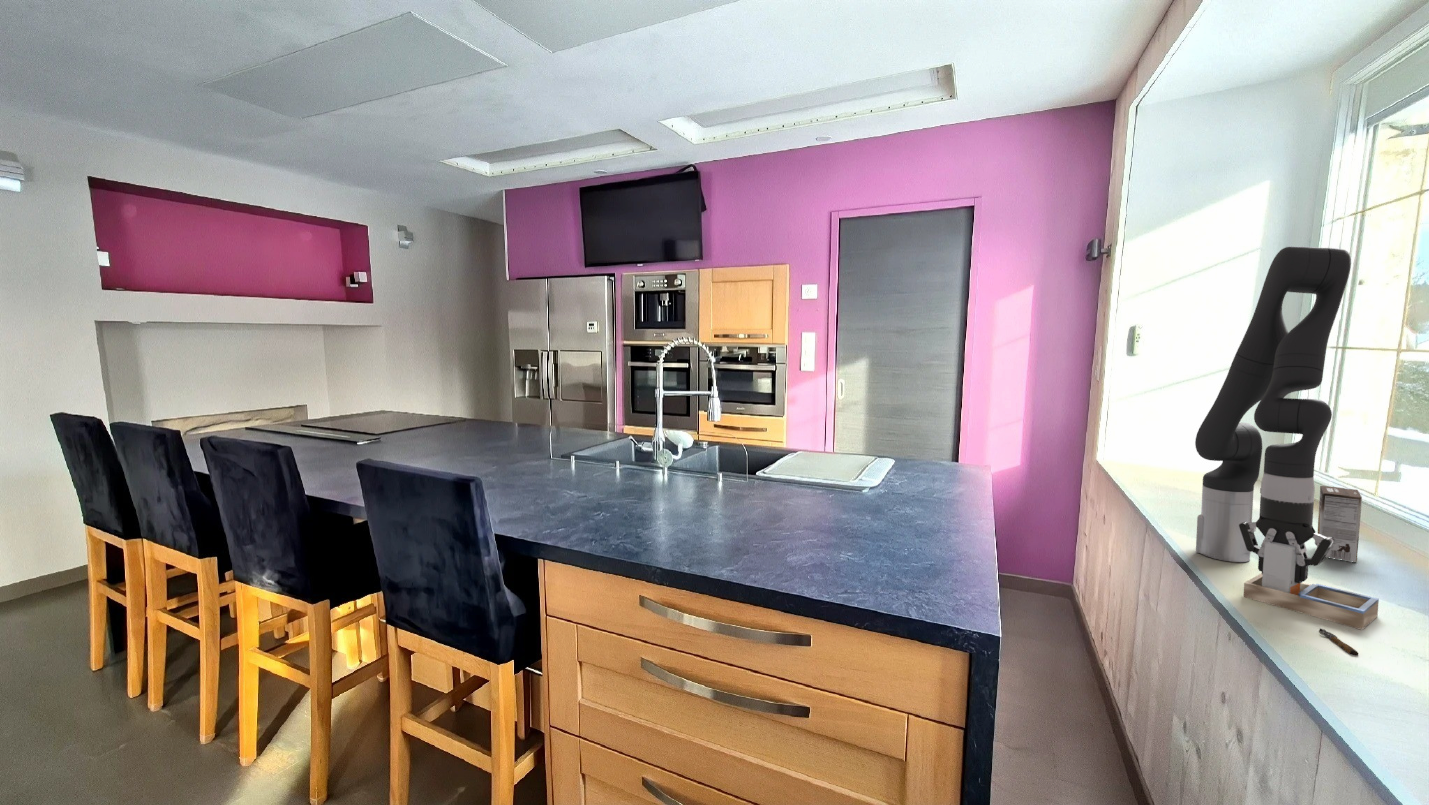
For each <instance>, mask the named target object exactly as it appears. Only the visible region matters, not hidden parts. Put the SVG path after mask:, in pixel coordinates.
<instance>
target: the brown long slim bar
mask: <svg viewBox="0 0 1429 805" xmlns="http://www.w3.org/2000/svg"><path fill="white" fill-rule="evenodd" d="M1319 634H1320V635H1322V636H1325V637H1328V638H1329V640H1330V641H1331V642H1333V643H1334V644H1336V645H1337V646H1338V647H1339V648H1340V649H1342V650H1343V651H1345V653H1348V654H1349V655H1351V656H1357V657H1358V656H1359V652H1358V651H1357V650H1356V649H1354V648H1353V647H1352V646H1350V645H1349V644H1347V643H1345V642H1344V641H1342V640H1341V639H1339V638H1338V636H1336V635H1335V634H1333V633H1332V632H1329V631H1327V630H1326V629H1325V628H1319Z"/></svg>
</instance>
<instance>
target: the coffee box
mask: <svg viewBox="0 0 1429 805" xmlns="http://www.w3.org/2000/svg"><path fill="white" fill-rule="evenodd" d="M1362 503H1363V497H1362V494H1361V493H1360V491H1359V490H1358V489H1352V488H1345V487H1337V486H1329V485H1328V486H1327V485H1320V486H1319V502H1318V504H1319V505H1318V518H1317V520H1318V521H1317V534H1320V535H1322V536H1325V537H1332V538H1334V540H1335V541H1334V543H1333V545H1332V546H1331V548H1330V550H1329V552H1328V553H1327V555H1326V557H1330V558H1335V559H1342V560H1346V561H1353V562H1358V550H1359V539H1360V538H1359V537H1360V528H1361V527H1360V526H1361V517H1362V515H1361V514H1362V505H1363V504H1362ZM1317 548H1318V546H1316V549H1317ZM1346 561H1345V562H1346Z"/></svg>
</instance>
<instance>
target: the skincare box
mask: <svg viewBox="0 0 1429 805" xmlns="http://www.w3.org/2000/svg"><path fill="white" fill-rule="evenodd" d="M1299 547H1301V546H1299ZM1295 549H1296V548H1295V547H1292V546H1290V545H1287V544H1282V543H1277V542H1266V543H1265V548H1264V562H1263V576H1262V586H1263V587H1267V588H1271V589H1275V590H1279V591H1283V592H1286V593H1290V594H1294V595H1298V594H1299V593H1300V585H1301V583H1300V584H1299V583H1295V582H1294V579H1295V565H1297V562H1296V554H1295Z"/></svg>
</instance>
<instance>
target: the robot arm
mask: <svg viewBox="0 0 1429 805" xmlns="http://www.w3.org/2000/svg"><path fill="white" fill-rule="evenodd" d="M1351 266H1352V257H1351V254H1350V253H1349V252H1348V251H1347V250H1346V249H1342V248H1334V247H1333V248H1332V247H1318V246H1317V247H1315V246H1313V247H1311V246H1285V247H1283V248H1282V249H1280V250H1279V251H1278V252H1277V253H1276V254H1275V256H1274V257H1273V260H1272V262H1271V264H1270V266H1269V268H1268V271H1267V274H1266V277H1265V280H1264V281H1263V286H1262V288H1261V292H1260V295H1259V298H1258V300H1257V304H1256V307H1255V310H1254V312H1253V315H1252V318H1251V319H1250V323H1249V325H1248V327H1247V329H1246V330H1245V333H1244V336H1243V338H1242V340H1241V342H1240V344H1239V347H1237V350H1236V353H1235V355H1234V356H1233V359H1232V362H1231V365H1230V366H1229V370H1228V372H1227V375H1226V377H1225V379H1224V381H1223V384H1222V385H1221V387H1220V390H1219V392H1218V394H1217V397H1216V399H1215V400H1214V402H1213V404H1212V406H1211V408H1210V409H1209V410H1208V412H1207V414H1206V416H1205V418H1204V419H1203V421H1202V423H1201V424H1200V426H1199V428H1198V429H1197V432H1196V436H1195V442H1194V444H1195V445H1194V446H1195V449H1196V452H1197V454H1198V455H1199V456H1200V457H1202V458H1203V459H1205V460H1207V461H1214V462H1216V461H1217V462H1221V464H1220V465H1219V466H1218V467H1217V468H1215V469H1213V470H1211V471H1208V472H1206V473H1205V474H1203V475H1202V476H1203V477H1202V487H1201V488H1202V489H1201V490H1202V491H1201V492H1202V493H1201V510H1200V514H1199V515H1197V517H1196V537H1195V538H1196V540H1195V541H1196V542H1195V553H1197V554H1201V555H1203V556H1206V557H1209V558H1211V559H1215V560H1220V561H1225V562H1232V563H1246V562H1249V561H1250V559H1251V553H1254V554H1256V556H1258V563H1257V569H1258V571H1259V572H1261V573H1262V575H1263V562H1264V548H1265V543H1266V542H1277V543H1282V544H1287V545H1290V546H1292V547H1295V548H1296V549H1295V554H1296V562H1297V565H1295V579H1294V582H1295V583H1299V584H1300V583H1305V581H1307V579H1308V574H1309V567H1310V566H1314V567H1316V566H1318V565H1320V564H1322V563H1323V562H1324V559H1326V558H1325V557H1326V555H1327V553H1328V552H1329V550H1330V548H1331V546H1332V545H1333V543H1334V541H1335V540H1334V538H1332V537H1325V536H1322V535H1320V534H1318V532H1317V531H1316V530H1315V529H1314V526H1313V522H1314V521H1313V520H1314V508H1315V507H1314V505H1315V493H1316V492H1315V491H1316V490H1315V479H1314V476H1315V462H1316V455H1317V451H1318V448H1319V445H1320V442H1321V440H1322V438H1323V436H1324V434H1325V433H1326V431H1327V429H1328V427H1329V425H1330V423H1331V420H1332V417H1333V414H1332V409H1331V408H1330V406H1329V405H1328V403H1327V402H1325V401H1323V400H1321V399H1316V398H1288V397H1287V395H1289V394H1291V393H1295V392H1301V391H1308V390H1313V389H1316V388H1318V387H1320V386H1321V384H1322V381H1323V376H1324V369H1325V362H1326V361H1325V360H1326V353H1327V352H1326V351H1327V348H1328V342H1329V338H1330V334H1331V331H1332V328H1333V326H1334V323H1335V320H1336V317H1337V315H1338V311H1339V309H1340V305H1341V302H1342V300H1343V296H1344V292H1345V291H1346V287H1347V283H1348V280H1349V278H1350V273H1351V270H1352V269H1351ZM1287 293H1297V294H1298V293H1299V294H1312V295H1315V302H1314V304H1313V306H1312V308H1311V310H1310V311H1309V312H1308V313H1307V315H1306V316H1304V318H1302V319H1301V321H1300V322H1298V324H1296V325H1295V326H1294V327H1293V328H1291V329H1290V330H1289V331H1288V329H1287V326H1286V323H1285V320H1284V316H1283V304H1284V303H1283V302H1284V299H1285V297H1286V294H1287ZM1286 397H1287V398H1286ZM1257 403H1258V404H1257ZM1256 404H1257V407H1256V408H1255V410H1254V414H1253V419H1254V423H1255V425H1256V426H1254V425H1253V424H1250V423H1247V422H1241V421H1242V419H1243V417H1244V416H1245V415H1246V413H1248V411H1249V410H1250V409H1252V408H1253V407H1254V406H1255V405H1256ZM1257 427H1258V428H1257ZM1259 429H1260V430H1261V431H1264V432H1268V433H1280V434H1292V435H1293V434H1295V435H1302V436H1301V439H1299V441H1296V442H1292V443H1289V442H1288V443H1277V444H1271V445H1268V446H1267V447H1266V448H1265V449H1264V459H1263V460H1264V462H1263V475H1262V479H1261V481H1260V482H1261V484H1260V490H1259V493H1260V498H1259V516H1258V517H1259V518H1258V519H1257V520H1256V521H1253V510H1254V509H1253V508H1254V492H1255V491H1254V490H1255V484H1256V482H1257V481H1258V479H1259V477H1260V470H1261V462H1262V455H1263V439H1262V435H1261V433H1260V431H1259ZM1257 529H1258V530H1259V532H1260V533H1261V534H1262V536H1264V538H1263V541H1262V542H1261V545H1260V546H1259V544H1258V542H1257V538H1256V536H1255V535H1256V534H1255V532H1257ZM1311 539H1313V540H1314V545H1315V546H1316V550H1315V551H1314V553H1313V555H1312V556H1311V557H1309V556H1308V553H1307V551H1308V550H1307V546H1306V543H1307V542H1308V541H1309V540H1311ZM1299 546H1301V547H1299ZM1317 546H1318V548H1317Z"/></svg>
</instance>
